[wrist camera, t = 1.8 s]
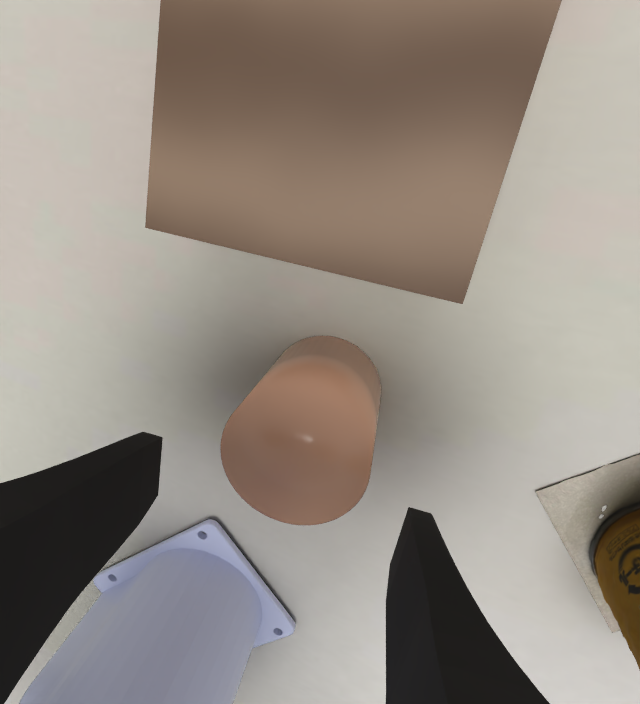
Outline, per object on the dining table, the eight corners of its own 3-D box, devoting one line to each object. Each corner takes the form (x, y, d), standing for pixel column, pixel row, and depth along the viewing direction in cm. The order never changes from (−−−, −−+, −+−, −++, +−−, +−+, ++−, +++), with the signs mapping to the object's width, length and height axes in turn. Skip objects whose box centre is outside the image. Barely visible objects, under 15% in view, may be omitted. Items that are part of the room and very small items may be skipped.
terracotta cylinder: (310, 455, 21) (276, 544, 16) (250, 369, 21) (191, 432, 15) (402, 408, 20) (400, 490, 14) (341, 314, 19) (313, 361, 13)
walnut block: (451, 283, 18) (462, 304, 14) (196, 223, 19) (145, 227, 15) (555, -52, 14) (607, -142, 11) (230, -102, 15) (174, -200, 12)
